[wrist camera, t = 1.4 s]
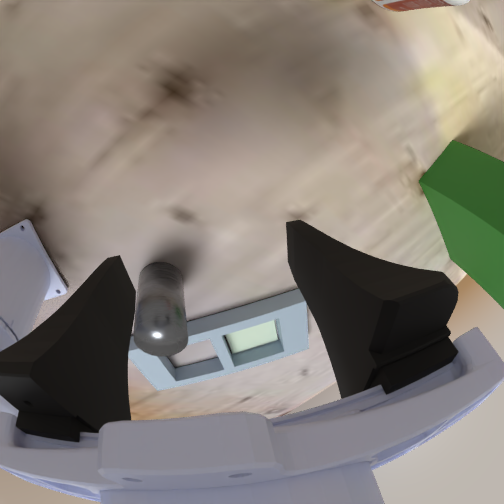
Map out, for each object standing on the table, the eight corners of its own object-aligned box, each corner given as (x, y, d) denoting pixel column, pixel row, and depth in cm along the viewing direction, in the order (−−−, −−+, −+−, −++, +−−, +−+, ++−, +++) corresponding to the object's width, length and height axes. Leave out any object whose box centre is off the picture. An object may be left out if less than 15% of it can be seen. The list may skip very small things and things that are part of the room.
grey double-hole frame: (157, 377, 32) (157, 390, 30) (125, 337, 27) (124, 351, 25) (302, 336, 34) (308, 348, 32) (298, 288, 29) (306, 300, 27)
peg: (149, 302, 25) (147, 360, 20) (132, 269, 23) (123, 327, 17) (188, 291, 26) (195, 349, 20) (174, 256, 23) (176, 313, 18)
